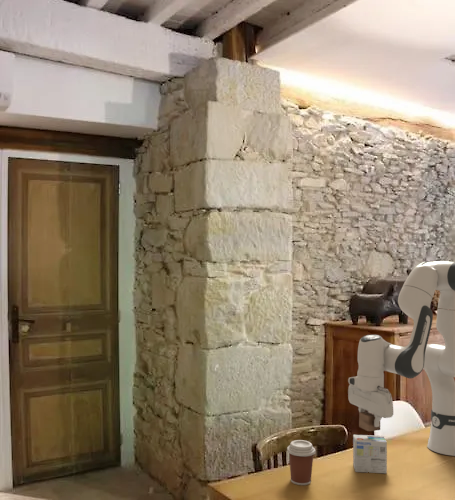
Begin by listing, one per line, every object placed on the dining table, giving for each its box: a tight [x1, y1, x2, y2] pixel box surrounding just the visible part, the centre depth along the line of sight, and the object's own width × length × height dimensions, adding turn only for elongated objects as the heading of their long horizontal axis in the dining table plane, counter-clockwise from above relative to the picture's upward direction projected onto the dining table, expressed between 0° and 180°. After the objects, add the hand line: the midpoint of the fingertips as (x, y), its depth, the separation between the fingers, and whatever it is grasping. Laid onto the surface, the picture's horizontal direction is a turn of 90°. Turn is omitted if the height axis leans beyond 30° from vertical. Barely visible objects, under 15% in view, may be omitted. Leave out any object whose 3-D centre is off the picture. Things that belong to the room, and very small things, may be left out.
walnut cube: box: [358, 410, 381, 432], centre depth 181 cm, size 5×5×5 cm
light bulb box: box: [352, 434, 388, 474], centre depth 181 cm, size 11×7×11 cm, turn 84°
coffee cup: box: [286, 439, 317, 486], centre depth 170 cm, size 9×9×12 cm
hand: (369, 423), depth 181 cm, fingers closed on walnut cube, 5 cm apart
